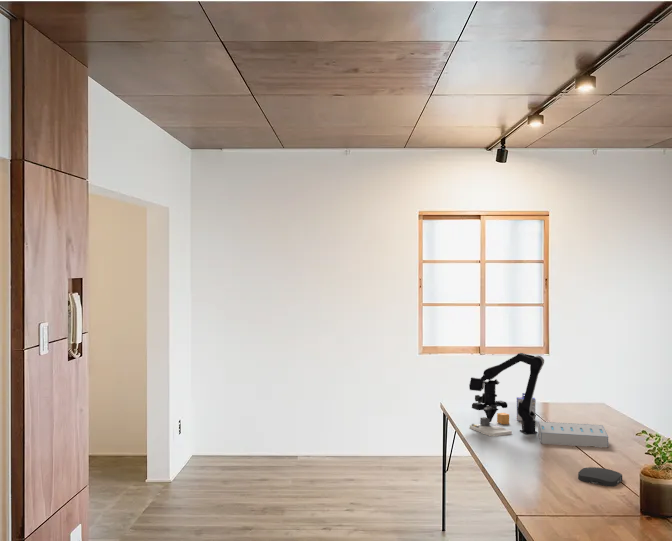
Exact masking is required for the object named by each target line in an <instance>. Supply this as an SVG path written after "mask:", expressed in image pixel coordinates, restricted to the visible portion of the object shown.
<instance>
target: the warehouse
mask: <svg viewBox="0 0 672 541" xmlns="http://www.w3.org/2000/svg"><path fill="white" fill-rule="evenodd" d="M537 428H538V430H537V432H538V433H537V434H538V436H537V437H538V439H539V441H540V444H543V445H558V446H559V445H560V446H573V447H574V446H575V447H587V446H595V447H594V448H602V447H608V448H609V436H608V433H607V432H606V431H607V430H605V427H604V425H603V424H588V423H587V424H585V423H567V422H549V421H538V427H537Z"/></svg>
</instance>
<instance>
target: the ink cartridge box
mask: <svg viewBox="0 0 672 541" xmlns="http://www.w3.org/2000/svg"><path fill="white" fill-rule="evenodd" d="M524 396H525V393H524V392H523V393H522V395H521V397H520V396H519V397H518V396H516V421H519V422H522V418H521V417H520V416H519V414H518V410H517V409H518V406H519V402H520V401H521V400H522V401H523V399H524ZM536 401H537V399H536V398H535V397H533V398H532V411H533V412H534V414H535V415H536V405H537V404H536ZM534 420H535V421H536V418H535V419H534Z"/></svg>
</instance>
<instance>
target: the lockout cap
mask: <svg viewBox="0 0 672 541" xmlns="http://www.w3.org/2000/svg"><path fill="white" fill-rule="evenodd" d="M496 414H497V415H496V423H497V422H498V423H497V424H500V423H501V424H500V425H509V424H510V414H509V413H506V412H498V413H497V412H496Z"/></svg>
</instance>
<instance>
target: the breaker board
mask: <svg viewBox="0 0 672 541" xmlns="http://www.w3.org/2000/svg"><path fill="white" fill-rule="evenodd" d="M469 429H471V430H474V431H475V430H476V431H475V432H478V433H480V432H481V433H480V434H482V435H486V436H488V437H489V438H490V437H499V436H508V435H513V432H512V430H510V429H507V428H504V427H503V426H502V427H501V426H499V425H497V424H494V423H492V422H490V426H483V425H481V424H480V423H479V424H475V423H471V424H470V425H469Z"/></svg>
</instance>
